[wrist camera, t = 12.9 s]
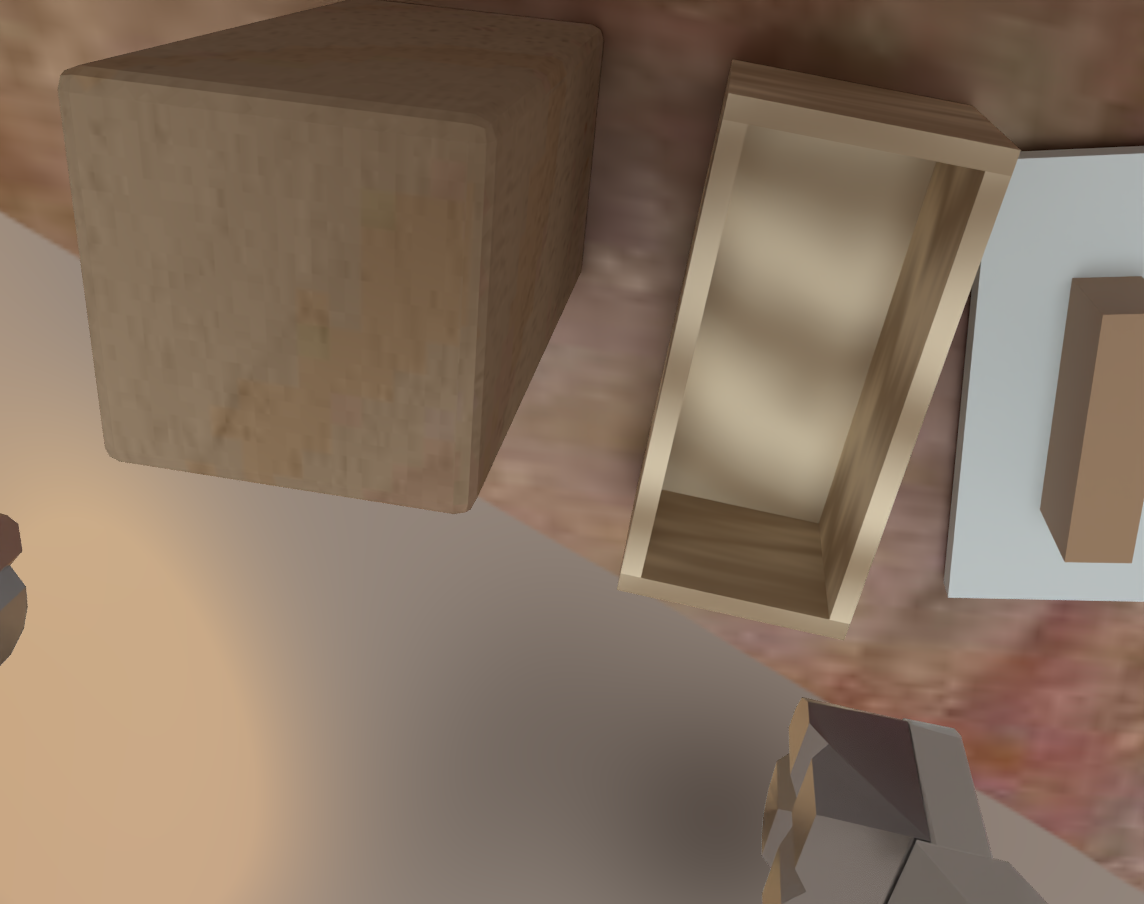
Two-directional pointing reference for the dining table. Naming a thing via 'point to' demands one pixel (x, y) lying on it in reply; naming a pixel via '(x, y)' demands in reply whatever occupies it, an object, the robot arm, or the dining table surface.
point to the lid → (1055, 388)
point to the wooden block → (331, 241)
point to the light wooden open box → (808, 341)
